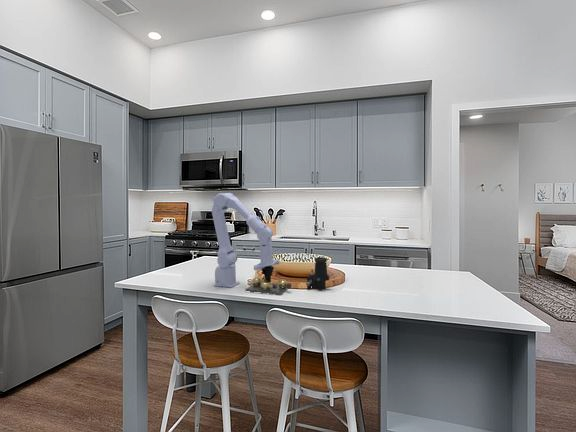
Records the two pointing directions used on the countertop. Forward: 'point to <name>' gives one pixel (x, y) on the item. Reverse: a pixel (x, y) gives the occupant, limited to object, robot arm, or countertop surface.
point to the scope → (318, 275)
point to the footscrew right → (268, 285)
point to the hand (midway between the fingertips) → (267, 282)
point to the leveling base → (271, 291)
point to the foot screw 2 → (284, 284)
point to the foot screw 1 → (258, 281)
